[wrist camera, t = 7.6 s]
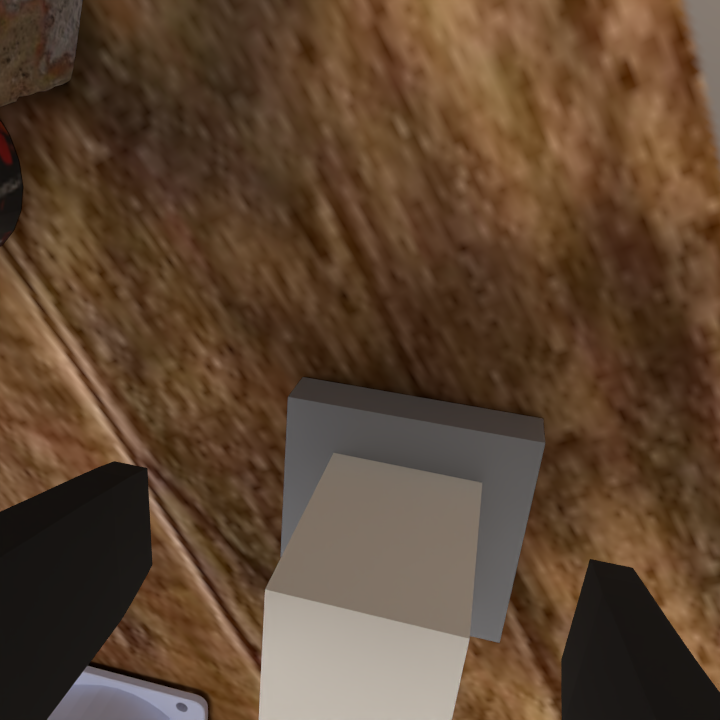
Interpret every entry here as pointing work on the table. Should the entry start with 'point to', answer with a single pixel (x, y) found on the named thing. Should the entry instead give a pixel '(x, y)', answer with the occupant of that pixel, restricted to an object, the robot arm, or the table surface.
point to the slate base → (423, 467)
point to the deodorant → (9, 186)
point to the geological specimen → (36, 45)
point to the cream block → (372, 597)
